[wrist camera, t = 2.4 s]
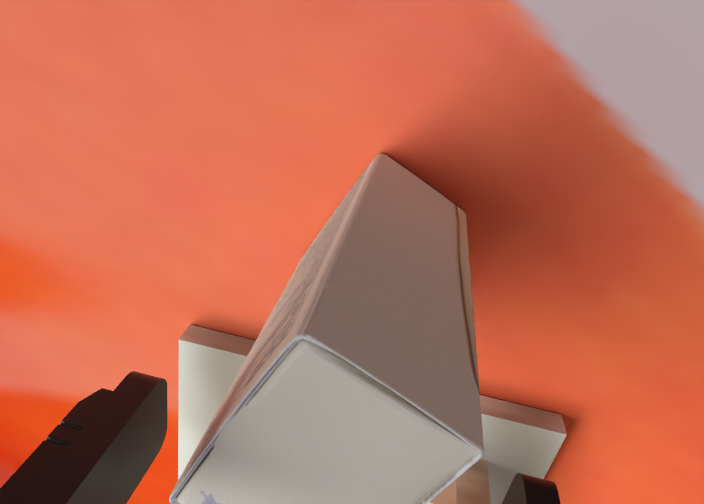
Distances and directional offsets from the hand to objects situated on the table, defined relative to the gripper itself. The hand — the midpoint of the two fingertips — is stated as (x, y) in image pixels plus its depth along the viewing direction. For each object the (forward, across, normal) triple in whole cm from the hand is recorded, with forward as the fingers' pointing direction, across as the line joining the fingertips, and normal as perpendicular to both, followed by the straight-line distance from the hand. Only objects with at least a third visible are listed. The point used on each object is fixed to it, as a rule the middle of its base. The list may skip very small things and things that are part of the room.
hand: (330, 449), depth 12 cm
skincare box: (+11, 0, 0) cm, 11 cm away
